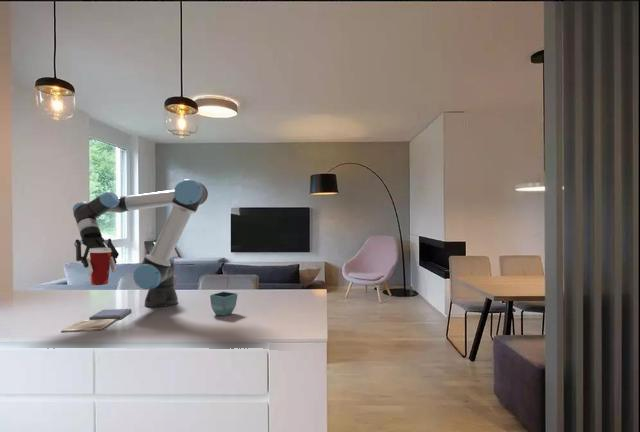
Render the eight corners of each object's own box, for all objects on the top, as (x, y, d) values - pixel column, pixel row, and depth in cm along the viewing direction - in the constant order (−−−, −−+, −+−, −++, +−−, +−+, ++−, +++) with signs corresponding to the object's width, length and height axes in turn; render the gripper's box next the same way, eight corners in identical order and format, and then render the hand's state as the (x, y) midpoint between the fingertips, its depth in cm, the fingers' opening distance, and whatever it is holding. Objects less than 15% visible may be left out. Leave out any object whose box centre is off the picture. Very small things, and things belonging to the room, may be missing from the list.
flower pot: (238, 313, 154) (238, 293, 154) (224, 317, 146) (225, 297, 146) (222, 310, 158) (223, 291, 158) (209, 315, 150) (209, 295, 150)
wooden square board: (117, 319, 142) (117, 318, 142) (102, 330, 129) (102, 329, 129) (80, 321, 140) (80, 320, 140) (61, 332, 126) (61, 330, 126)
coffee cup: (115, 283, 145) (116, 248, 145) (96, 286, 138) (97, 249, 138) (101, 281, 148) (103, 247, 148) (82, 284, 141) (84, 248, 141)
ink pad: (131, 311, 155) (131, 308, 155) (120, 319, 143) (120, 315, 143) (102, 312, 153) (102, 309, 153) (89, 320, 141) (89, 316, 141)
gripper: (112, 236, 161) (126, 274, 151) (58, 237, 144) (70, 280, 134) (117, 225, 158) (132, 263, 148) (63, 225, 141) (76, 268, 131)
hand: (103, 271), depth 141 cm, fingers closed on coffee cup, 8 cm apart
